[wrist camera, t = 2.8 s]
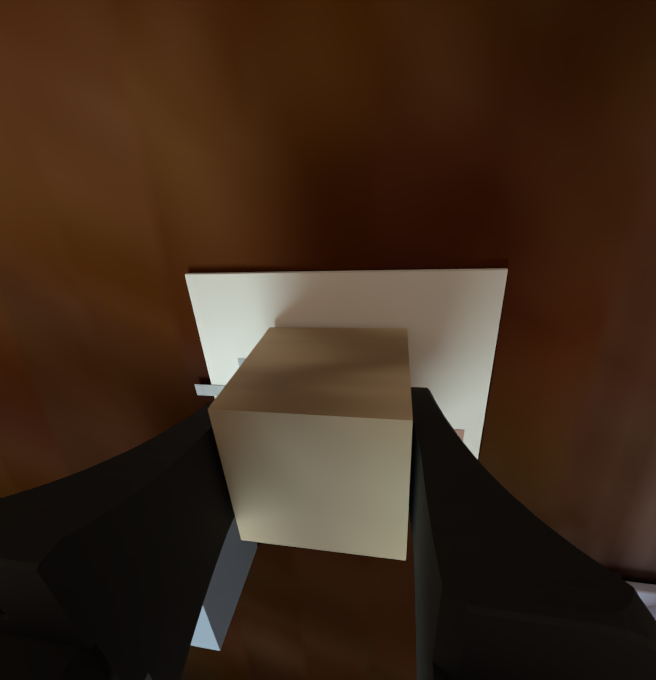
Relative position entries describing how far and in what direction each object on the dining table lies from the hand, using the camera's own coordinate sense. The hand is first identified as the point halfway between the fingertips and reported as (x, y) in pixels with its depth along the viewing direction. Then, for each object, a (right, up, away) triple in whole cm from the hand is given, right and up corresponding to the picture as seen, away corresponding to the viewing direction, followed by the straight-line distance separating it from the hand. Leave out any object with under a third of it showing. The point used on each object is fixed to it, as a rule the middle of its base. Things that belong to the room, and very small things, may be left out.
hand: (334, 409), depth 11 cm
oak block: (0, +1, +1) cm, 1 cm away
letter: (0, +1, +1) cm, 2 cm away
